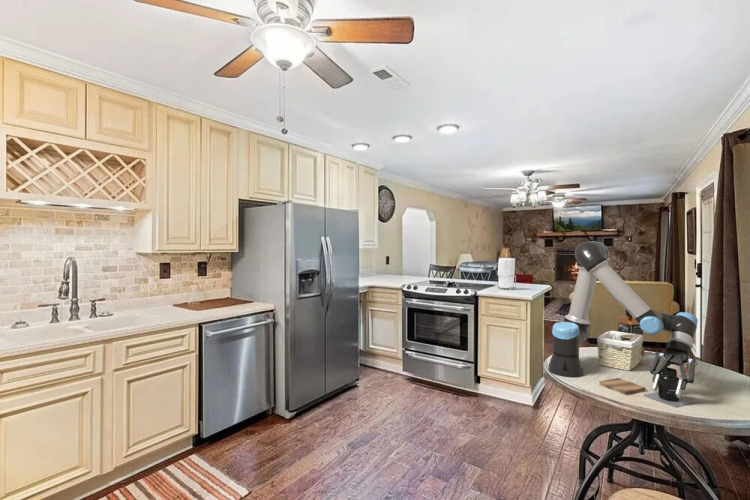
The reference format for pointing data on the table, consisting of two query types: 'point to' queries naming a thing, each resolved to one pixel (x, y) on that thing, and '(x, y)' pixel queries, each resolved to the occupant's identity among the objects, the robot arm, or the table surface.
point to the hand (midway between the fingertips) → (665, 392)
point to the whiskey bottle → (629, 327)
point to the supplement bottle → (668, 384)
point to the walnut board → (622, 386)
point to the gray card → (675, 404)
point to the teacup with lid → (686, 368)
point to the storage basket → (619, 350)
